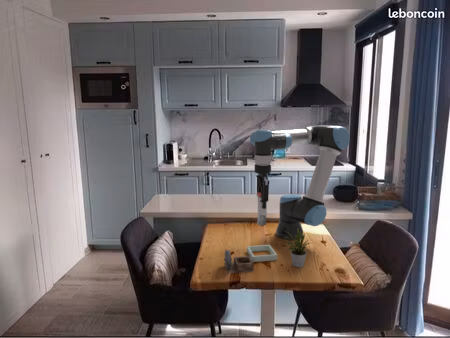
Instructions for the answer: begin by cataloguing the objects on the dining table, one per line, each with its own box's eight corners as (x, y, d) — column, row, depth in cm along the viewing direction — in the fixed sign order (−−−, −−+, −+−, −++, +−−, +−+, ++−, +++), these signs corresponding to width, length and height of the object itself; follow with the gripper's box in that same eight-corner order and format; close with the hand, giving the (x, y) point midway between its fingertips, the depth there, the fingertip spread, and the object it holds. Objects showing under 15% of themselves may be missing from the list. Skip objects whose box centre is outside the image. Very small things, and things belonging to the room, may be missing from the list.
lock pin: (265, 222, 162) (265, 191, 159) (267, 225, 157) (268, 193, 154) (255, 222, 161) (256, 191, 158) (258, 226, 156) (258, 194, 154)
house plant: (279, 256, 164) (280, 224, 161) (308, 256, 164) (309, 224, 161) (283, 270, 150) (284, 236, 147) (314, 271, 150) (316, 236, 147)
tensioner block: (249, 263, 157) (249, 244, 155) (254, 274, 147) (255, 253, 145) (222, 266, 155) (222, 246, 153) (226, 276, 145) (226, 256, 143)
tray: (269, 252, 169) (269, 244, 168) (276, 262, 158) (277, 254, 157) (247, 254, 167) (247, 246, 166) (252, 264, 156) (252, 256, 155)
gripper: (250, 161, 161) (249, 208, 166) (259, 167, 145) (259, 219, 149) (265, 160, 162) (264, 207, 167) (276, 167, 146) (275, 218, 150)
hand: (262, 213), depth 158 cm, fingers closed on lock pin, 4 cm apart
